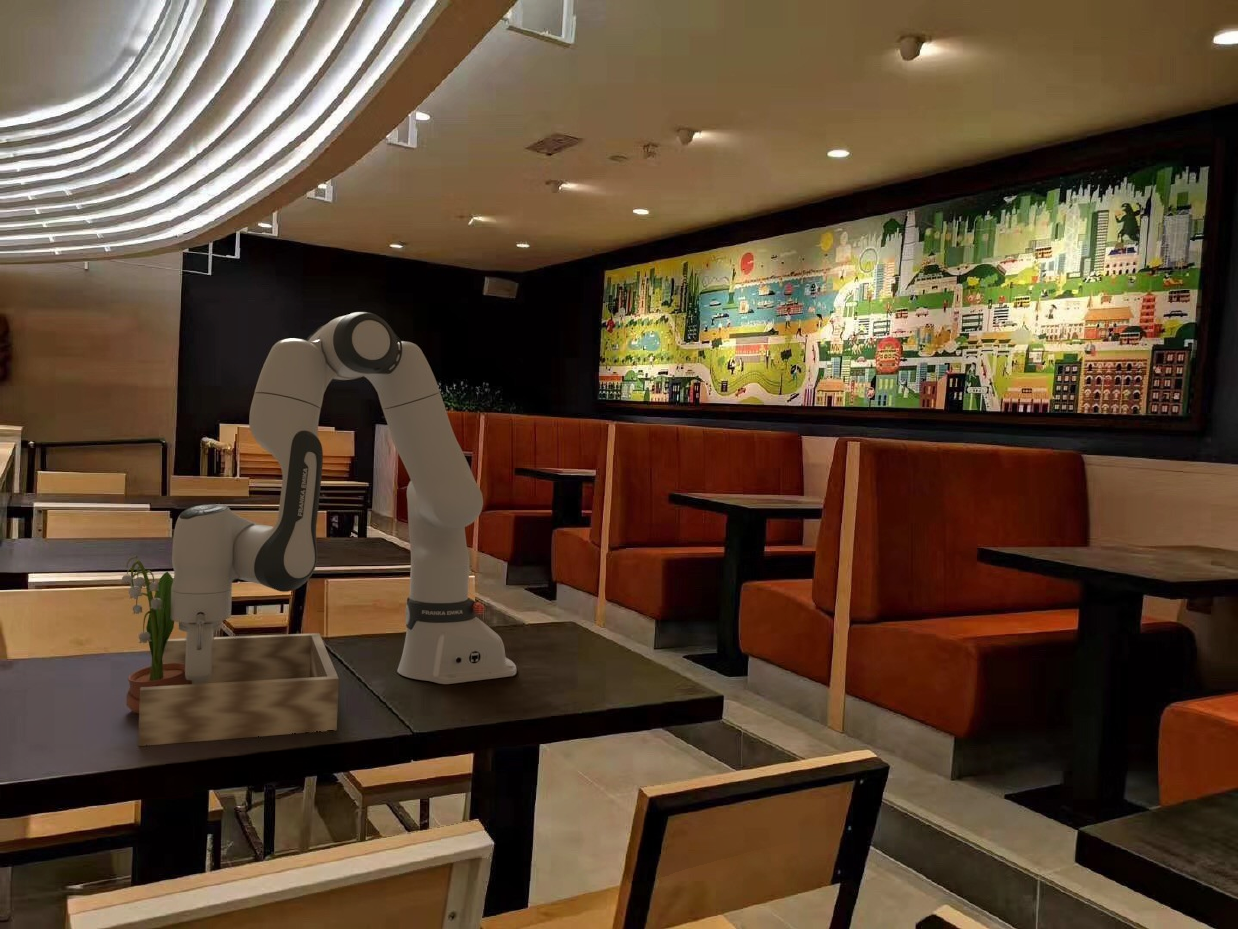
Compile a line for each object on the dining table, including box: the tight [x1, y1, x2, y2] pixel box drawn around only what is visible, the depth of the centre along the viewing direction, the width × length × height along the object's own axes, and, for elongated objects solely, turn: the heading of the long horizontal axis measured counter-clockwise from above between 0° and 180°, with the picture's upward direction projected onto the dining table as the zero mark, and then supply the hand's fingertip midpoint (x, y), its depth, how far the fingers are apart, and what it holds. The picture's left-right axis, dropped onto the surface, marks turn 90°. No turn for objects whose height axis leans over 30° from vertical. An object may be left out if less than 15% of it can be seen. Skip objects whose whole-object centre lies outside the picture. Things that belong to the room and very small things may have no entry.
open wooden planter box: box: [137, 632, 340, 747], centre depth 149 cm, size 27×31×8 cm
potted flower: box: [121, 555, 192, 714], centre depth 143 cm, size 12×10×25 cm
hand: (198, 692), depth 147 cm, fingers closed, pressing on potted flower
